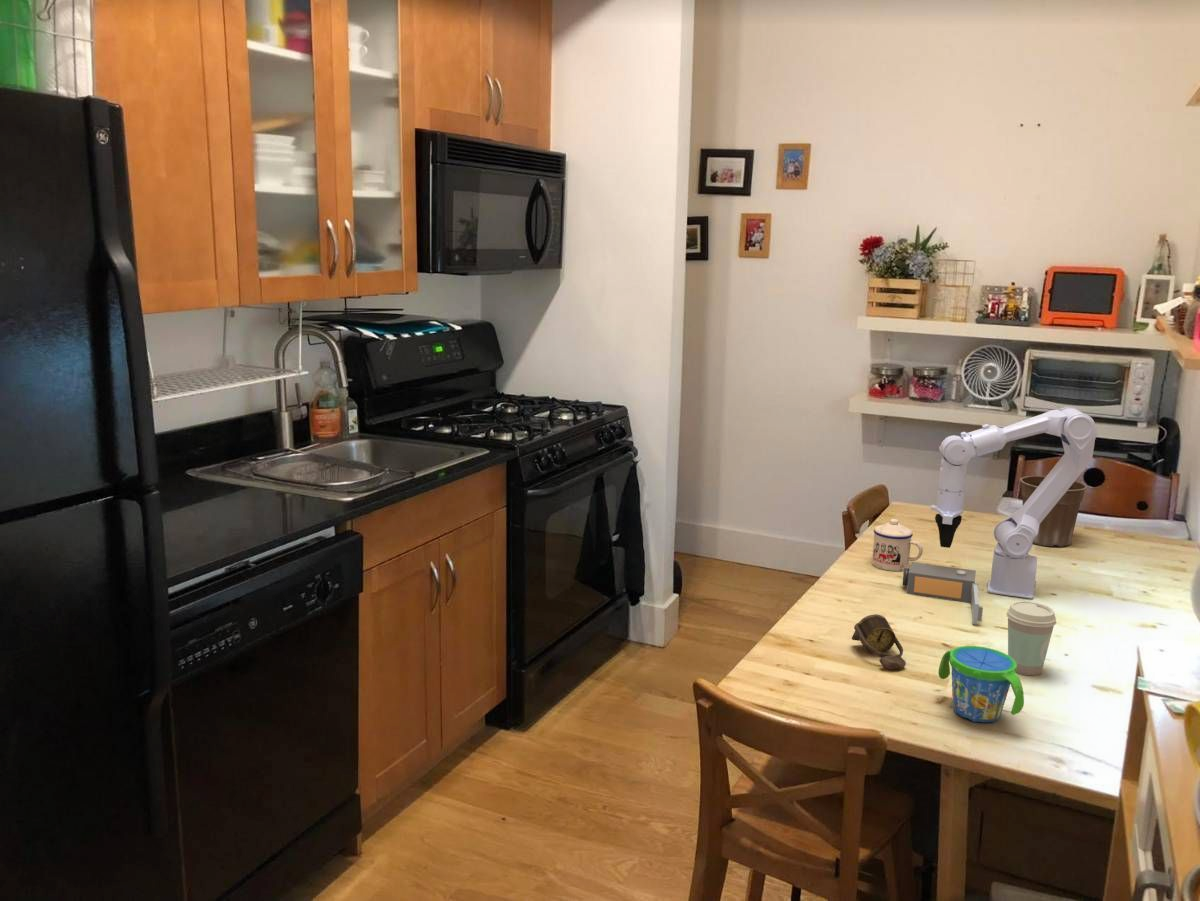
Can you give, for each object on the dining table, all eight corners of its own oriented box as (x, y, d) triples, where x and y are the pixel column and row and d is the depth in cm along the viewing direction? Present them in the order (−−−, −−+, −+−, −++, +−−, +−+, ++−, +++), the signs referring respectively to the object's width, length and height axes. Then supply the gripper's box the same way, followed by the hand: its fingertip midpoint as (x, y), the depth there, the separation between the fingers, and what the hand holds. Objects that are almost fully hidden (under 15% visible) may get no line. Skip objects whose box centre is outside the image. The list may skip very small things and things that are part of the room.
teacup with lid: (865, 566, 241) (869, 520, 238) (878, 557, 248) (882, 512, 246) (914, 577, 234) (918, 530, 232) (926, 567, 241) (931, 521, 239)
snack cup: (1036, 729, 163) (1043, 672, 161) (987, 741, 159) (994, 682, 156) (966, 689, 177) (972, 635, 174) (920, 699, 172) (925, 644, 170)
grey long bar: (970, 601, 218) (972, 582, 217) (978, 602, 218) (981, 583, 217) (971, 623, 206) (974, 603, 205) (981, 625, 205) (983, 605, 204)
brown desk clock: (908, 620, 194) (858, 604, 195) (916, 640, 181) (862, 623, 183) (897, 654, 195) (847, 638, 196) (904, 676, 182) (851, 659, 184)
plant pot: (1021, 528, 276) (1028, 471, 273) (1084, 539, 267) (1092, 481, 263) (1006, 541, 263) (1013, 483, 260) (1072, 554, 254) (1080, 493, 250)
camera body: (973, 591, 226) (976, 568, 224) (972, 603, 218) (975, 579, 217) (904, 581, 231) (906, 558, 230) (900, 592, 224) (903, 569, 222)
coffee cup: (1045, 682, 180) (1053, 620, 177) (996, 671, 184) (1003, 610, 182) (1052, 666, 187) (1060, 606, 184) (1005, 655, 191) (1012, 596, 189)
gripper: (934, 480, 232) (929, 535, 235) (930, 494, 219) (924, 553, 222) (966, 483, 229) (960, 539, 232) (964, 498, 216) (958, 557, 219)
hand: (945, 546), depth 227 cm, fingers closed
